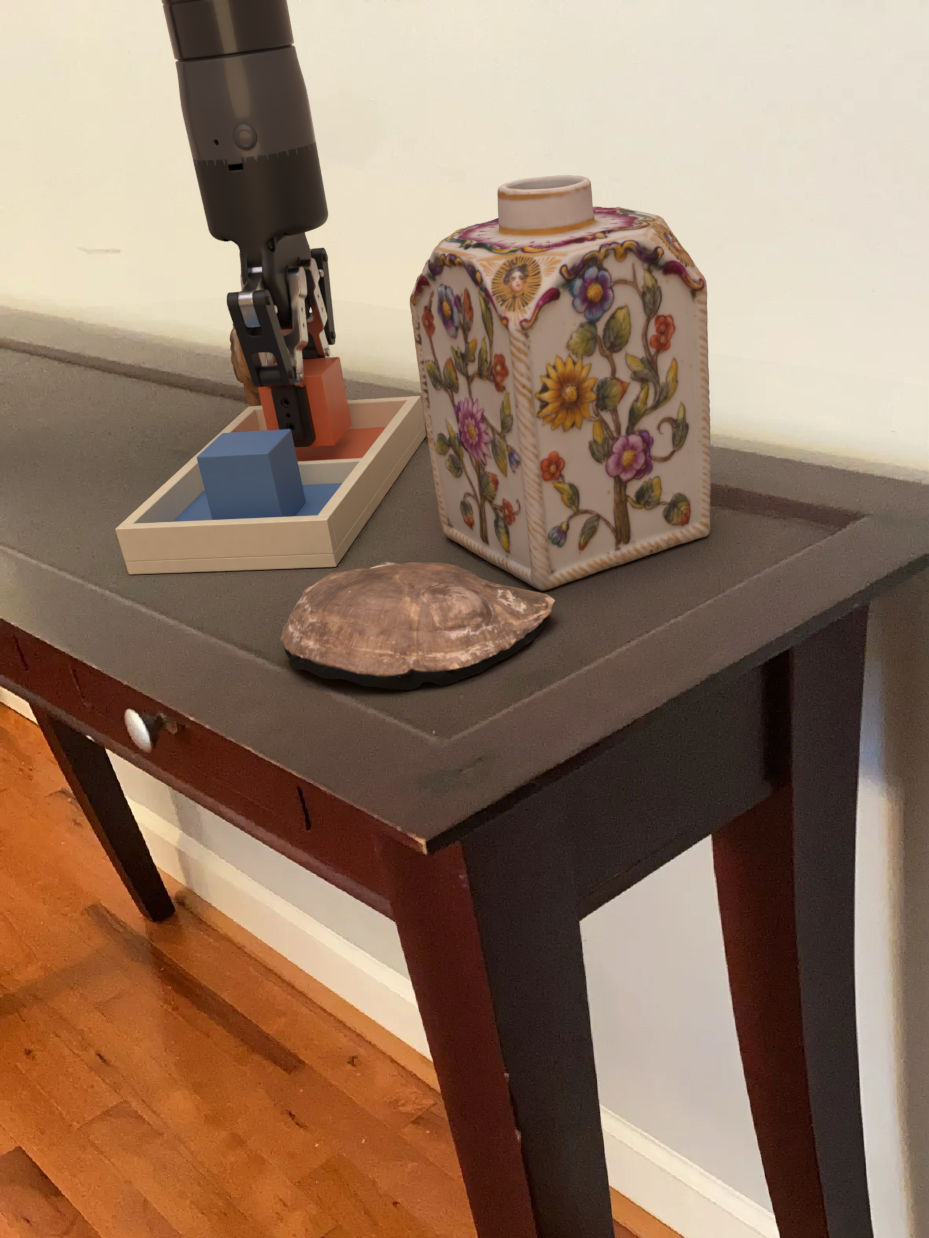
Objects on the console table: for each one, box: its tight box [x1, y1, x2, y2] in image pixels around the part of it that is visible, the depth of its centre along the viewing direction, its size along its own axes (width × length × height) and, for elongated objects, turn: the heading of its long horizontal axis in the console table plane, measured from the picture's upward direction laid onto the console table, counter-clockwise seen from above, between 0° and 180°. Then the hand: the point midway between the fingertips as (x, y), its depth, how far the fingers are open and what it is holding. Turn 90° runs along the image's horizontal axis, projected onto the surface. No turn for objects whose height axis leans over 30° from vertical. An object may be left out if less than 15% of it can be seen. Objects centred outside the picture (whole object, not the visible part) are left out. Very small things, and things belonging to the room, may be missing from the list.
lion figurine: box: [229, 324, 289, 407], centre depth 97 cm, size 15×5×9 cm, turn 2°
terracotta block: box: [258, 356, 352, 448], centre depth 86 cm, size 4×4×4 cm
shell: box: [279, 561, 556, 691], centre depth 63 cm, size 12×13×4 cm
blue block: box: [197, 429, 306, 520], centre depth 77 cm, size 4×4×4 cm
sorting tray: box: [115, 395, 427, 575], centre depth 83 cm, size 13×24×3 cm, turn 171°
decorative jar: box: [409, 174, 712, 592], centre depth 68 cm, size 12×12×18 cm
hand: (310, 432), depth 87 cm, fingers closed on terracotta block, 4 cm apart
